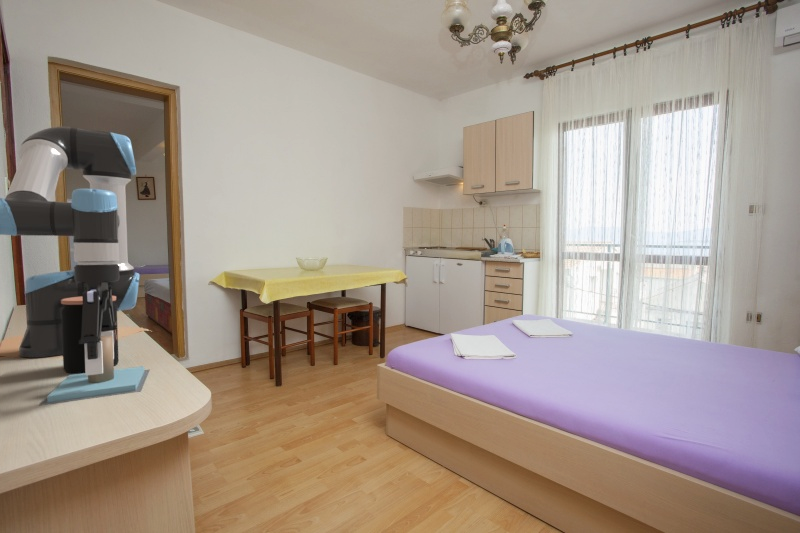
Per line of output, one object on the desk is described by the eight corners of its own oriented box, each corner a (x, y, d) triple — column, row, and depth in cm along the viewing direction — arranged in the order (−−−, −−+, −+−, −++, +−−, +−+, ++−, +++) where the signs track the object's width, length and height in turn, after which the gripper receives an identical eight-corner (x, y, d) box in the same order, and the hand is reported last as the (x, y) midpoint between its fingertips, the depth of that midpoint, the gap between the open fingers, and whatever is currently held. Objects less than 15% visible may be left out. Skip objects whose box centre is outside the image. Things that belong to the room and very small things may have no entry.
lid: (69, 380, 86) (67, 334, 85) (144, 371, 92) (143, 328, 92) (47, 402, 73) (45, 349, 73) (135, 390, 80) (134, 341, 79)
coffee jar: (88, 378, 89) (85, 301, 89) (51, 375, 92) (48, 300, 91) (129, 365, 100) (127, 295, 99) (95, 362, 102) (93, 294, 101)
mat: (65, 383, 86) (65, 379, 86) (150, 372, 94) (150, 369, 94) (38, 409, 72) (38, 405, 72) (141, 395, 79) (140, 391, 79)
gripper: (88, 261, 90) (92, 355, 91) (56, 266, 70) (61, 386, 71) (127, 261, 94) (130, 351, 95) (107, 265, 73) (111, 380, 74)
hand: (100, 366), depth 83 cm, fingers open, 10 cm apart
